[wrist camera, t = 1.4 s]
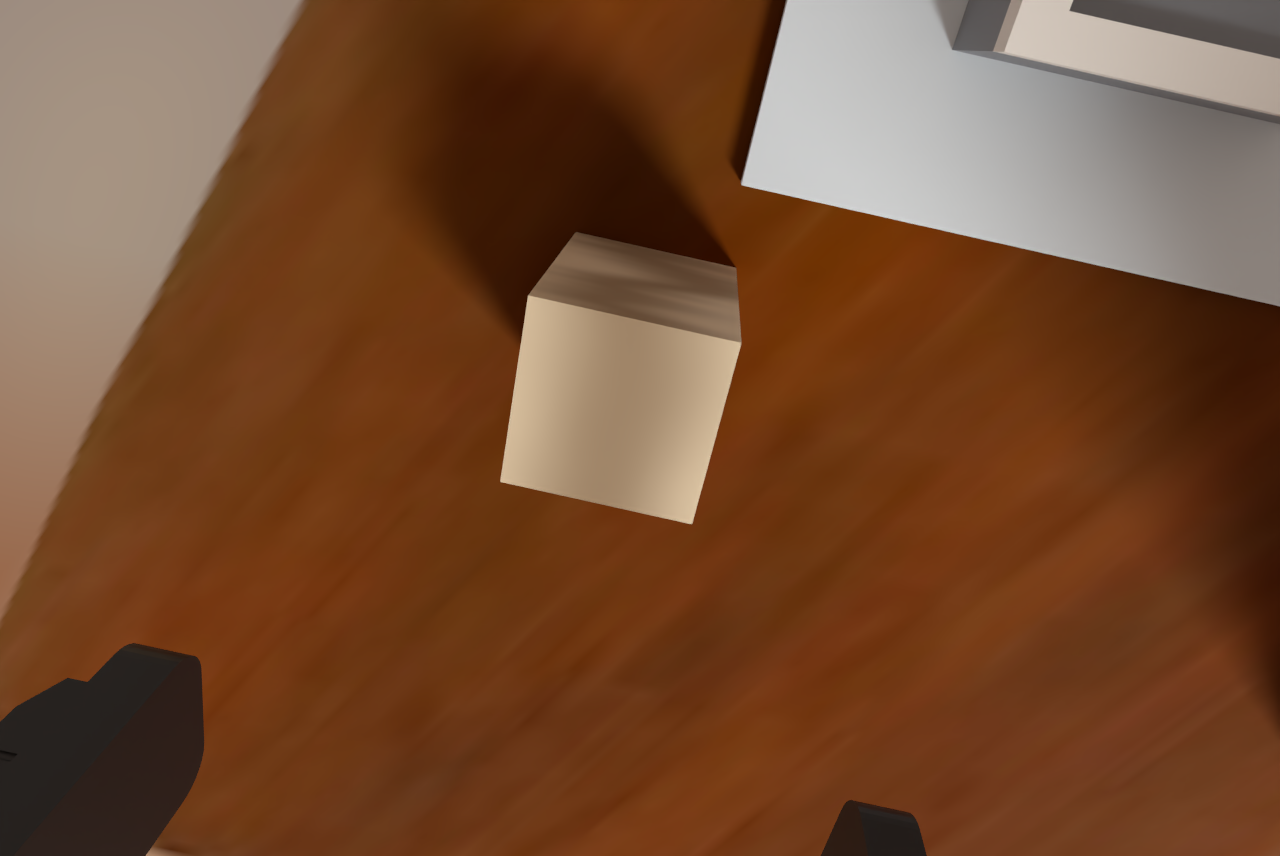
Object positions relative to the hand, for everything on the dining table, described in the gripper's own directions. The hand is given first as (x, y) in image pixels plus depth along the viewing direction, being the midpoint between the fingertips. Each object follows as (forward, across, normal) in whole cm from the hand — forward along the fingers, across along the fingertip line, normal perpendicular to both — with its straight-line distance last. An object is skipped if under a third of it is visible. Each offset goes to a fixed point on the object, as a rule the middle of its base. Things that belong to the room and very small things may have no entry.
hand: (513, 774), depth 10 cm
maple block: (+18, 0, 0) cm, 18 cm away
